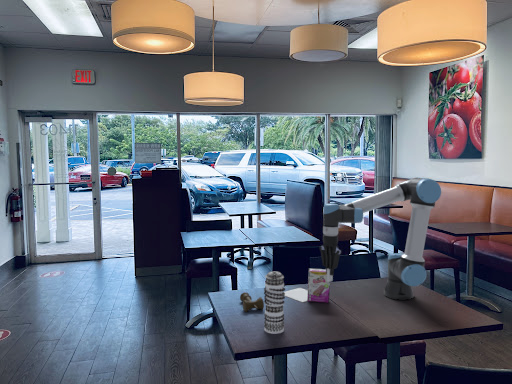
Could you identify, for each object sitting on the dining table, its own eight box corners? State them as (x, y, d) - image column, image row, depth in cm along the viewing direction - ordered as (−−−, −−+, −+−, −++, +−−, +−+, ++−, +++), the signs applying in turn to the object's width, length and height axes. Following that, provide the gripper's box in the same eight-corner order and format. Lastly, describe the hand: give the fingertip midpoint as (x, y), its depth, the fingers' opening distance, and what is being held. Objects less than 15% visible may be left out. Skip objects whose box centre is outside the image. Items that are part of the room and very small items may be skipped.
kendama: (253, 301, 215) (267, 313, 196) (235, 303, 212) (248, 316, 193) (252, 290, 215) (266, 301, 196) (235, 292, 212) (247, 304, 193)
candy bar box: (307, 301, 212) (308, 270, 210) (307, 298, 217) (308, 268, 215) (329, 303, 211) (330, 272, 209) (328, 299, 216) (330, 269, 214)
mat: (323, 296, 222) (323, 295, 222) (302, 302, 212) (302, 302, 212) (299, 288, 236) (299, 287, 236) (278, 293, 226) (278, 293, 226)
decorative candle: (289, 329, 178) (289, 272, 176) (275, 336, 171) (276, 277, 169) (272, 323, 184) (273, 268, 182) (259, 330, 177) (259, 273, 175)
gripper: (315, 233, 208) (314, 279, 210) (335, 237, 198) (334, 285, 200) (325, 232, 213) (324, 276, 215) (345, 235, 203) (344, 282, 205)
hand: (329, 281), depth 207 cm, fingers closed
